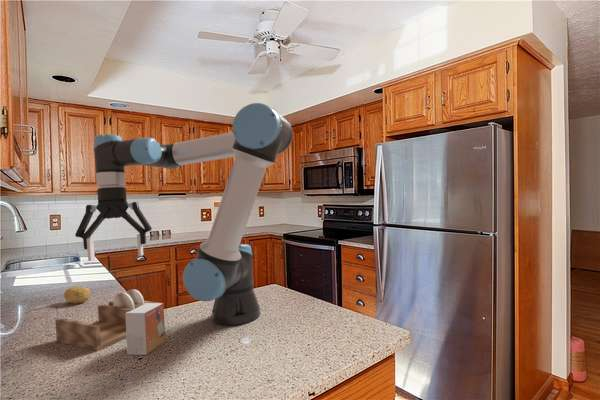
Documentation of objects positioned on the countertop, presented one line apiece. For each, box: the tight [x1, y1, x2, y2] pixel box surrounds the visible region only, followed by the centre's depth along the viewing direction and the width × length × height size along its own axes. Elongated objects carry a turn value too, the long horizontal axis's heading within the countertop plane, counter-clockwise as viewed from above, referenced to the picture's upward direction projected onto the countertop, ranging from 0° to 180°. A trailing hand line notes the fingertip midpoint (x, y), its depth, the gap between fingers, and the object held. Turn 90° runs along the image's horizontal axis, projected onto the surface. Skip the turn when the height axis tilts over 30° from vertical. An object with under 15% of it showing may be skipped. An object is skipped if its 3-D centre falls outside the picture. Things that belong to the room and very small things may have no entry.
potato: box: [63, 286, 91, 304], centre depth 127 cm, size 7×11×6 cm, turn 64°
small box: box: [125, 302, 166, 356], centre depth 84 cm, size 8×6×10 cm
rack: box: [55, 288, 159, 352], centre depth 96 cm, size 18×20×10 cm
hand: (116, 257), depth 98 cm, fingers open, 13 cm apart
